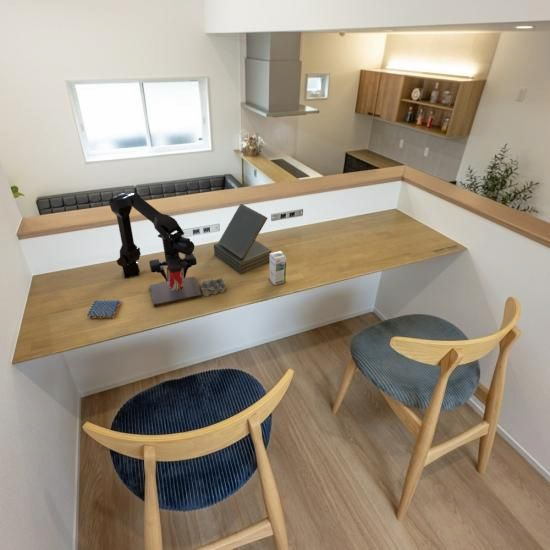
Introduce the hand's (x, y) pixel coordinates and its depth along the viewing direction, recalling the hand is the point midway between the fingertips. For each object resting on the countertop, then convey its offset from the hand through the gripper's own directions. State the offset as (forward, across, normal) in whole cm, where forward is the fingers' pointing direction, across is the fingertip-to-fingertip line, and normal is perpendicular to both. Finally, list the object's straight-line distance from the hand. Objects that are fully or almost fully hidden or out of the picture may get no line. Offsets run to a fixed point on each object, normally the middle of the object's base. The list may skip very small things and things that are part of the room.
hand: (175, 279), depth 157 cm
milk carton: (+7, +45, -7) cm, 46 cm away
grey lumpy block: (+7, +15, -4) cm, 17 cm away
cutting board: (+7, -1, 0) cm, 7 cm away
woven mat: (+7, -30, -3) cm, 31 cm away
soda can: (+5, 0, 0) cm, 5 cm away
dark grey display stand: (+7, +36, +18) cm, 41 cm away
